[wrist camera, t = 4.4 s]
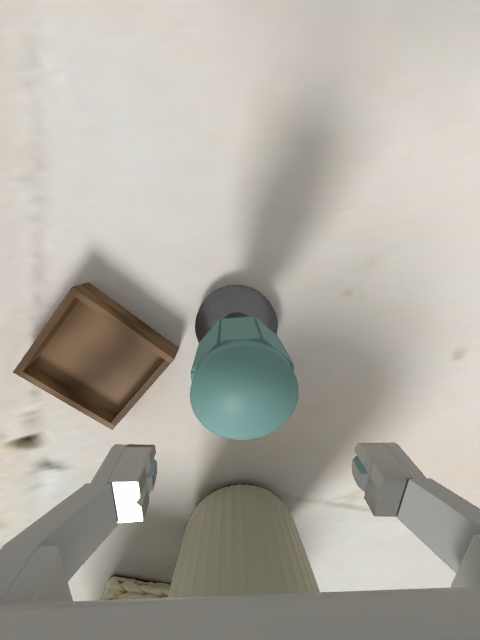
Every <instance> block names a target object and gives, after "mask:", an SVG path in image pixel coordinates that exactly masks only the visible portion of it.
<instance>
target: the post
mask: <svg viewBox="0 0 480 640" xmlns="http://www.w3.org/2000/svg"><path fill="white" fill-rule="evenodd" d="M252 316H253V318H255V317H256V318H257V319H258V320H259V321H261V322H262V323H263V324H264V325H265V326H267V327H268V328H269V329H270V330H271V331H272V332H274V333H275V334H276V333H277V318H276V314H275V311H274V309H273V307H272V305H271V304H270V303H269V301H268V300H267V299H266V298H265V297H264V296H263V295H262V294H261V293H260V292H258V291H256V290H255V289H252V288H250V287H246V286H240V285H233V286H227V287H223V288H221V289H218V290H217V291H215V292H213V293H212V294H211V295H209V296H208V297H207V298H206V299H205V301H204V302H203V303H202V305H201V307H200V309H199V311H198V314H197V317H196V323H195V331H196V336H197V339H198V342H200V341H201V340H202V339H203V338H204V337H205V335H206V334H207V333H208V332H209V331H210V330H211V329H212V327H213V326H214V325H215V324H216V323H217V322H218V321H219V320H220V321H221V320H222V319H226V318H239V317H252Z"/></svg>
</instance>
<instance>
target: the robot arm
mask: <svg viewBox="0 0 480 640" xmlns="http://www.w3.org/2000/svg"><path fill="white" fill-rule="evenodd" d="M355 452H356V454H357V456H356V457H355V458H354V459H353V461H352V473H353V476H354V479H355V481H356V483H357V485H358V487H360V488H361V489H362V490H363V491H364V492H365V496H364V498H365V500H366V502H367V504H368V506H369V508H370V510H371V511H372V513H373V515H374V516H393V517H397V518H398V519H399V520H400V521H401V522H402V523H403V524H404V525H405V526H406V527H407V528H408V529H409V530H411V531H412V532H413V533H414V534H415V535H416V536H417V537H418V538H419V539H420V540H421V541H422V542H423V543H424V544H425V545H427V546H428V547H429V548H430V549H431V550H432V551H433V552H434V553H435V554H436V555H437V556H438V557H439V558H440V559H441V560H443V561H444V562H445V563H446V564H447V565H448V566H449V567H450V568H451V569H452V570H453V571H454V572H455V573H456V575H455V578H454V580H453V582H452V584H451V588H427V589H400V590H373V591H345V592H317V593H289V594H261V595H235V596H208V597H181V598H154V599H127V600H100V601H73V600H72V596H71V592H70V589H69V585H68V581H69V580H70V579H71V577H72V576H73V575H74V574H75V573H76V572H77V571H78V569H79V568H80V567H81V566H82V565H83V564H84V563H85V561H86V560H87V559H88V558H89V557H90V556H91V555H92V553H93V552H94V551H95V550H96V549H97V548H98V547H99V545H100V544H101V543H102V542H103V541H104V540H105V539H106V537H107V536H108V535H109V534H110V533H111V532H112V530H113V529H114V528H115V527H116V526H117V525H118V523H122V522H140V521H143V519H144V516H145V513H146V510H147V507H148V504H149V495H148V494H149V493H150V492H151V491H152V490H153V488H154V485H155V481H156V475H157V461H156V460H155V459H154V457H155V454H156V449H155V445H133V444H128V445H119V444H115V445H114V446H113V447H112V448H111V450H110V451H109V453H108V455H107V456H106V458H105V460H104V461H103V463H102V465H101V466H100V468H99V470H98V472H97V473H96V475H95V477H94V478H93V480H92V482H91V483H88V484H85V485H84V486H82V487H81V488H80V489H78V490H77V491H76V492H74V493H73V494H72V495H70V496H69V497H68V498H66V499H65V500H64V501H62V502H61V503H60V504H58V505H57V506H56V507H54V508H53V509H52V510H50V511H49V512H48V513H46V514H45V515H44V516H42V517H41V518H40V519H38V520H37V521H36V522H34V523H33V524H32V525H30V526H29V527H28V528H26V529H25V530H24V531H22V532H21V533H20V534H18V535H17V536H16V537H14V538H13V539H12V540H10V541H9V542H8V543H6V544H5V545H4V546H3V547H2V548H1V550H0V640H480V509H479V508H478V507H476V506H474V505H473V504H471V503H470V502H468V501H466V500H465V499H463V498H462V497H460V496H458V495H457V494H455V493H453V492H452V491H450V490H449V489H447V488H445V487H444V486H442V485H441V484H439V483H437V482H436V481H434V480H432V479H427V478H426V477H425V476H424V475H423V473H422V472H421V471H420V470H419V469H418V467H417V466H416V465H415V464H414V463H413V462H412V460H411V459H410V458H409V457H408V456H407V455H406V453H405V452H404V451H403V450H402V449H401V448H400V446H399V445H398V444H396V443H358V444H357V445H356V447H355Z"/></svg>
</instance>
